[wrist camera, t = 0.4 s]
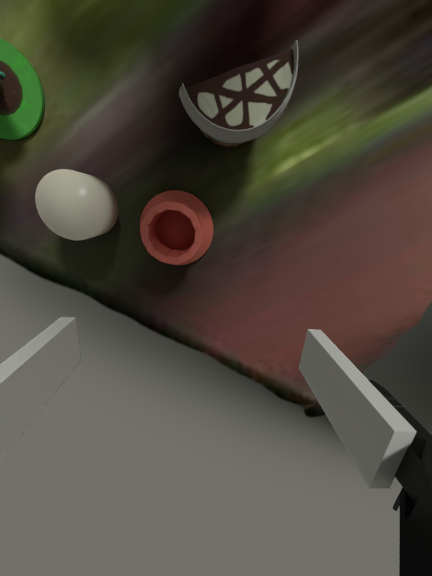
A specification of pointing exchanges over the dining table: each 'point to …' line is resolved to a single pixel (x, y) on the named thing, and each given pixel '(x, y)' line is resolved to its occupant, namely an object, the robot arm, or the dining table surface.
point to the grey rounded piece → (76, 204)
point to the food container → (242, 99)
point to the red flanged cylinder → (176, 227)
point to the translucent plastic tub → (18, 94)
